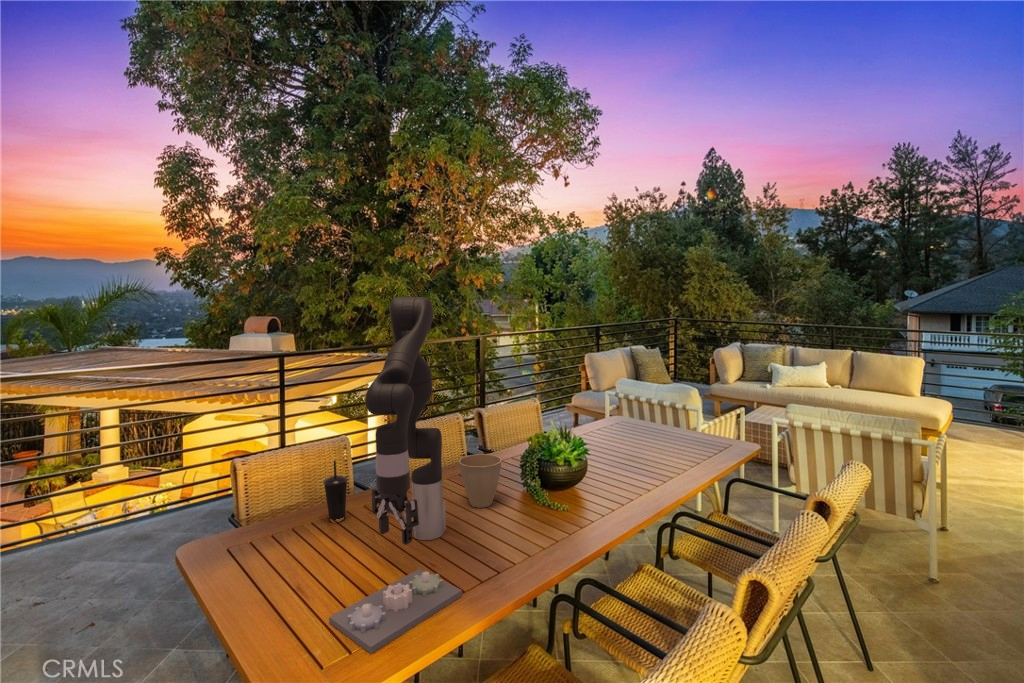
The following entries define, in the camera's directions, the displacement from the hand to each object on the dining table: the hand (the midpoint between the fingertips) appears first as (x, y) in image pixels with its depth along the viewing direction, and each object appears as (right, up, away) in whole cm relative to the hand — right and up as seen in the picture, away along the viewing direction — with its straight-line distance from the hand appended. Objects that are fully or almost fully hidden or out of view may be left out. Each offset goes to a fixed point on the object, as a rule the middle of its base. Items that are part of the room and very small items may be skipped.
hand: (395, 537), depth 118 cm
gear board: (0, -17, +1) cm, 17 cm away
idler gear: (0, -16, +1) cm, 16 cm away
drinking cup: (-31, -14, +51) cm, 61 cm away
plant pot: (+16, -12, +62) cm, 65 cm away
